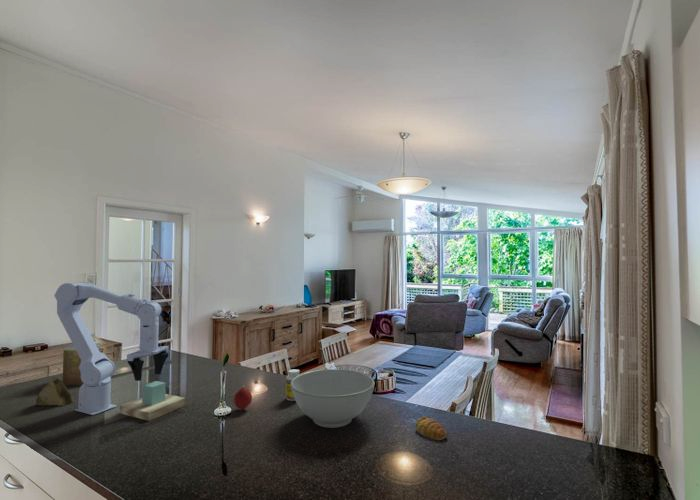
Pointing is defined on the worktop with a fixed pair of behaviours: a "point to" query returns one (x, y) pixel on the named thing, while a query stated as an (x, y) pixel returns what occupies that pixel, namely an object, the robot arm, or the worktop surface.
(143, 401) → the teal block
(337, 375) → the decorative bowl
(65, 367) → the tan tall block
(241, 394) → the onion
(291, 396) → the supplement bottle
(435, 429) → the pastry
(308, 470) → the worktop surface
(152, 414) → the birch base board
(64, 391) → the rock
